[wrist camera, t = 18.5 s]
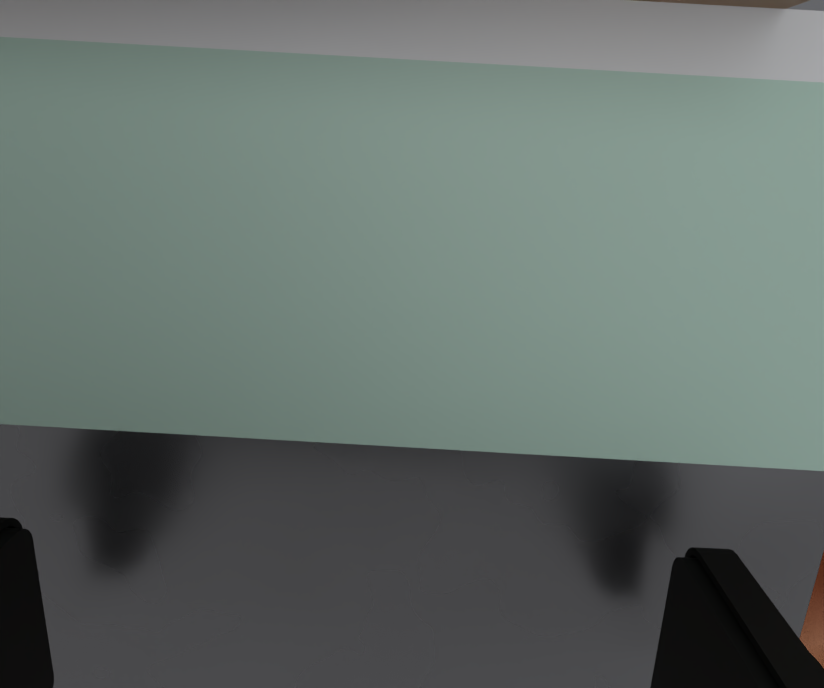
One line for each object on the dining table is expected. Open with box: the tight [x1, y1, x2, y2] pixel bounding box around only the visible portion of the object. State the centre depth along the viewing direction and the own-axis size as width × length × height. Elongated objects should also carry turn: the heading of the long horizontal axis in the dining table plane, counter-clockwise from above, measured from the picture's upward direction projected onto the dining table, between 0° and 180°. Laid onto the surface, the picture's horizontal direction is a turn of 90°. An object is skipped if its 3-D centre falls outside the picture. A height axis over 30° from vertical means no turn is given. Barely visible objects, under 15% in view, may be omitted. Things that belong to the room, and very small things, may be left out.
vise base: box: [0, 0, 824, 688], centre depth 9 cm, size 15×21×4 cm
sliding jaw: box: [0, 0, 824, 471], centre depth 8 cm, size 14×5×2 cm, turn 87°
